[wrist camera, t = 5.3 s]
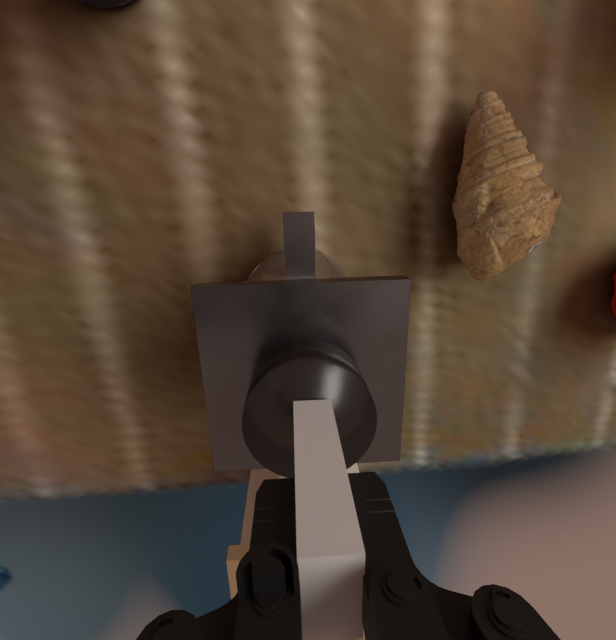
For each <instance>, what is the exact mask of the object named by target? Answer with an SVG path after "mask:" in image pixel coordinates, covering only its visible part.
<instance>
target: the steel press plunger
mask: <svg viewBox="0 0 616 640" xmlns="http://www.w3.org/2000/svg"><path fill="white" fill-rule="evenodd" d="M325 399H331V402H332V407H333V411H334V416H335V420H336V425H337V429H338V434H339V438H340V442H341V447H342V451H343V456H344V460H345V465H346V469H348V468H350V467H351V466H352V465H354V464H355V463H356V462H357V461H358V460H359V459H360V458H361V457H362V456H363V455H364V454H365V453H366V451H367V450H368V448H369V447H370V445H371V443H372V441H373V438H374V436H375V432H376V427H377V411H376V406H375V403H374V400H373V398H372V396H371V394H370V391H369V389H368V387H367V385H366V383H365V380H364V378H363V376H362V374H361V372H360V370H359V368H358V366H357V364H356V363H355V361H354V360H353V359H352V358H351V357H350V356H349V355H348V354H347V353H346V352H345V351H343V350H342V349H340V348H339V347H337V346H335V345H333V344H330V343H328V342H324V341H320V340H312V339H304V340H296V341H292V342H288V343H285V344H283V345H281V346H279V347H277V348H275V349H273V350H272V351H271V352H269V353H268V354H267V355H266V356H265V357H263V359H262V360H261V361H260V362H259V363H258V365H257V366H256V368H255V369H254V372H253V374H252V376H251V379H250V383H249V387H248V392H247V396H246V401H245V405H244V410H243V415H242V433H243V437H244V440H245V443H246V445H247V447H248V449H249V451H250V453H251V454H252V455H253V457H254V458H255V459H256V460H257V461H258V462H259V463H260V464H261V465H262V466H264V467H265V468H266V469H268V470H270V471H271V472H273V473H275V474H277V475H280V476H283V477H286V478H295V458H294V415H293V401H306V400H325Z"/></svg>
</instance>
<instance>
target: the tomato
mask: <svg viewBox="0 0 616 640" xmlns="http://www.w3.org/2000/svg"><path fill="white" fill-rule="evenodd" d="M613 282H614V295H613V297H612V300H611V309H612V311H613V313H614V316H615V318H616V272H615V274H614V276H613Z"/></svg>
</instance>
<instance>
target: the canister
mask: <svg viewBox="0 0 616 640" xmlns="http://www.w3.org/2000/svg"><path fill="white" fill-rule="evenodd" d="M78 1H80V2H82V3H84V4H87V5H91V6H94V7H101V8H112V7H118V6H121V5H125V4H127V3H129V2H131V1H133V0H78Z"/></svg>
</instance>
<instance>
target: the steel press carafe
mask: <svg viewBox="0 0 616 640" xmlns="http://www.w3.org/2000/svg"><path fill="white" fill-rule="evenodd" d="M283 226H284V249H285V250H284V251H280V252H272V253H270V254H269V255H268V256H267V258H266V259H264V260H263V261H262V262H261V263H259V264H258V265H257V266H256V267H255V269H254V270H253V271H252V273H251V274H250V276H249V277H248V279H247V280H246V281H241V282H214V283H195V284H194V285H193V286H192V287H190V288H191V295H192V303H193V311H194V318H195V326H196V334H197V341H198V349H199V357H200V364H201V372H202V380H203V387H204V395H205V402H206V410H207V418H208V425H209V433H210V441H211V448H212V456H213V464H214V471H215V472H220V471H236V470H253V469H266V468H265V467H264V466H262V465H261V464H260V463H259V462H258V461H257V460H256V459H255V458H254V457H253V455H252V454H251V453H250V451H249V449H248V447H247V445H246V443H245V440H244V437H243V433H242V415H243V410H244V405H245V401H246V396H247V392H248V387H249V383H250V379H251V376H252V374H253V372H254V369H255V368H256V366H257V365H258V363H259V362H260V361H261V360H262V359H263V357H265V356H266V355H267V354H268V353H269V352H271V351H272V350H273V349H275V348H277V347H279V346H281V345H283V344H285V343H288V342H292V341H296V340H304V339H312V340H320V341H324V342H328V343H330V344H333V345H335V346H337V347H339V348H340V349H342V350H343V351H345V352H346V353H347V354H348V355H349V356H350V357H351V358H352V359H353V360H354V361H355V363H356V364H357V366H358V368H359V370H360V372H361V374H362V376H363V378H364V380H365V383H366V385H367V387H368V389H369V391H370V394H371V396H372V398H373V400H374V403H375V406H376V411H377V427H376V432H375V436H374V438H373V441H372V443H371V445H370V447H369V448H368V450H367V451H366V453H365V454H364V455H363V456H362V457H361V458H360V459H359V460H358V461H357V462H356V463H366V462H382V461H399V460H400V449H401V433H402V417H403V401H404V386H405V370H406V354H407V338H408V323H409V307H410V291H411V279H410V278H408V277H406V276H405V275H404V276H377V277H350V278H347V277H346V276H345V275H344V274H343V272H342V271H341V270H340V269H339V268H338V266H337V265H336V264H335V263H333V262H332V261H331V260H330V259H328V258H327V257H326V256H325V255H324V254H323V253H322V252H321V251H319V250H315V226H314V212H283Z"/></svg>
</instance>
